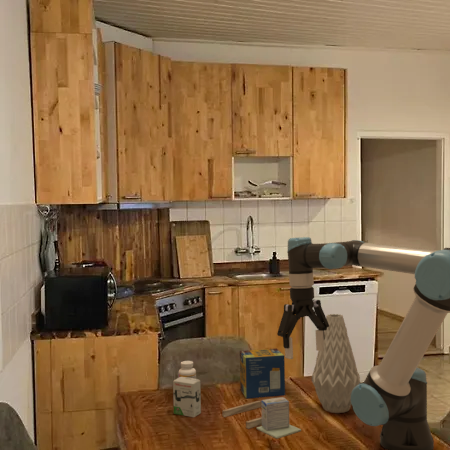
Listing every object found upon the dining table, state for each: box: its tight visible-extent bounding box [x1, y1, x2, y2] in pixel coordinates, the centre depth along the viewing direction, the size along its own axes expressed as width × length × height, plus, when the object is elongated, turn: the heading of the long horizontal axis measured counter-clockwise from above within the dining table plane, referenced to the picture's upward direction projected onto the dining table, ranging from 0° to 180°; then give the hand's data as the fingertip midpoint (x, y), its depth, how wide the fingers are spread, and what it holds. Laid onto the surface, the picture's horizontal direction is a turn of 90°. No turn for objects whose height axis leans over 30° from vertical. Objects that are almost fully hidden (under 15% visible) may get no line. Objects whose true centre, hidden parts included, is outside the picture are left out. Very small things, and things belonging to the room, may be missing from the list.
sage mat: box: [256, 423, 302, 440], centre depth 185 cm, size 10×10×1 cm
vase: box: [311, 313, 361, 414], centre depth 202 cm, size 17×17×33 cm
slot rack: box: [221, 400, 262, 430], centre depth 197 cm, size 14×16×2 cm
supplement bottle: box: [178, 360, 197, 379], centre depth 220 cm, size 7×7×13 cm
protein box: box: [239, 348, 286, 399], centre depth 222 cm, size 10×15×16 cm
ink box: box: [172, 376, 202, 418], centre depth 202 cm, size 9×5×12 cm, turn 62°
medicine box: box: [260, 396, 290, 431], centre depth 186 cm, size 8×4×9 cm, turn 110°
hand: (305, 354), depth 182 cm, fingers open, 13 cm apart
